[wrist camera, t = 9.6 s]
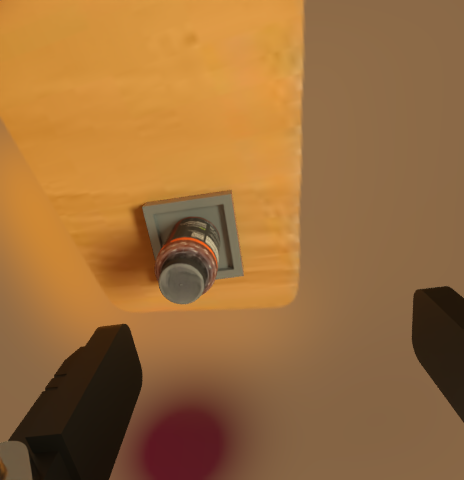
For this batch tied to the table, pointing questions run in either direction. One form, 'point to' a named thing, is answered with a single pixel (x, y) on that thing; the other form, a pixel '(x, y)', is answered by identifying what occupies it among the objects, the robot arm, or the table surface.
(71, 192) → the table surface
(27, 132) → the table surface
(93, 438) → the robot arm
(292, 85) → the table surface
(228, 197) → the gray square tray
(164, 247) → the supplement bottle
